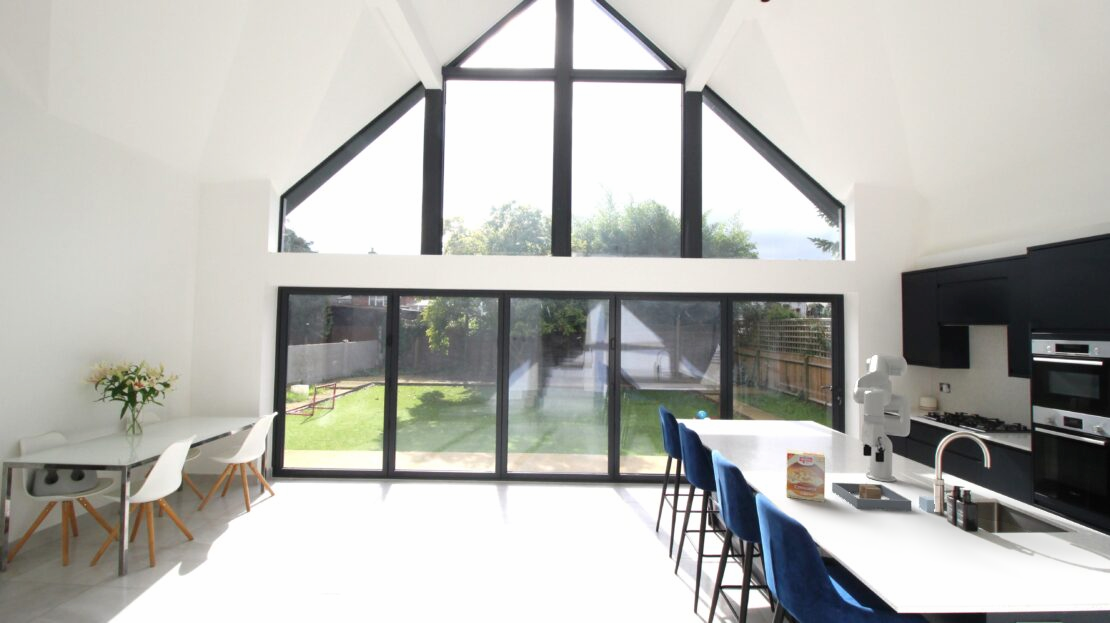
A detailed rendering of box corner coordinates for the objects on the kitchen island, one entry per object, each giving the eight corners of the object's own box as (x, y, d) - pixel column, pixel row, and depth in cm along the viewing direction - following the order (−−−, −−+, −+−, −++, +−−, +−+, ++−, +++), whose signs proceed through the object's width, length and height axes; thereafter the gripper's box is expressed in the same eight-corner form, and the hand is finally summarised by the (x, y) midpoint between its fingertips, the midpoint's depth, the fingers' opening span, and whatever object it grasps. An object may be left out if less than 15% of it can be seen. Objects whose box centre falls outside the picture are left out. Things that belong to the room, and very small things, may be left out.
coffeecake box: (786, 497, 225) (786, 452, 225) (785, 492, 231) (786, 449, 232) (824, 502, 219) (825, 456, 219) (823, 497, 226) (823, 452, 226)
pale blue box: (919, 507, 215) (919, 495, 215) (931, 508, 215) (931, 496, 215) (926, 512, 210) (927, 500, 210) (939, 512, 210) (939, 500, 210)
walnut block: (859, 498, 226) (859, 484, 226) (873, 498, 226) (873, 484, 226) (866, 502, 220) (866, 488, 220) (881, 503, 220) (881, 489, 220)
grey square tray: (832, 491, 234) (832, 482, 234) (881, 493, 233) (881, 484, 233) (857, 508, 213) (857, 498, 213) (911, 510, 211) (911, 501, 211)
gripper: (854, 415, 232) (854, 453, 231) (875, 422, 214) (875, 463, 214) (871, 415, 231) (871, 453, 231) (894, 423, 214) (894, 464, 214)
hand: (873, 458), depth 222 cm, fingers open, 9 cm apart
